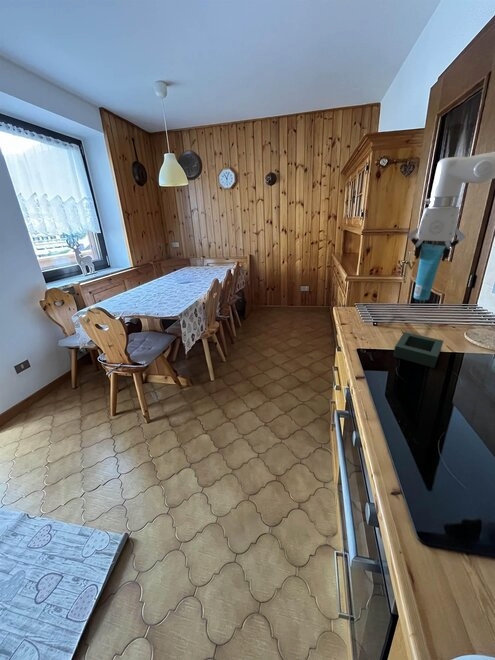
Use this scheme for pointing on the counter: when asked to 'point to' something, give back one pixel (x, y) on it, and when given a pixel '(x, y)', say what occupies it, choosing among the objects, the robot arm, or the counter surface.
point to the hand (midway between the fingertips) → (430, 258)
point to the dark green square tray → (416, 354)
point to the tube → (427, 270)
